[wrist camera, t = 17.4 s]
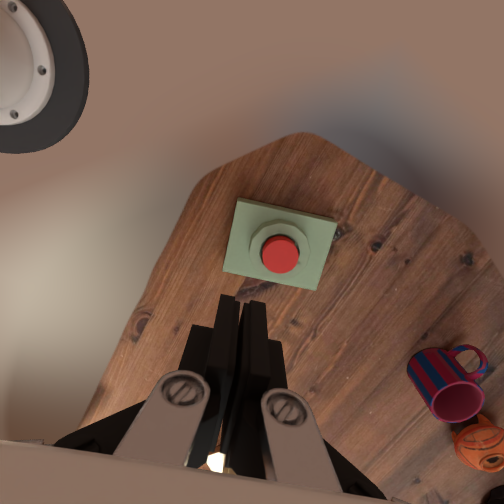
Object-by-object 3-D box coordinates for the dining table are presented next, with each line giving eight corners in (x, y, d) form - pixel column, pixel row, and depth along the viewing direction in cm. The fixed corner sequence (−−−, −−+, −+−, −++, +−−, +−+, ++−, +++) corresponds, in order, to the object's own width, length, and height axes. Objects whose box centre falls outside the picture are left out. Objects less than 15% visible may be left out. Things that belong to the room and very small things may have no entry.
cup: (397, 371, 48) (419, 407, 42) (447, 322, 45) (479, 353, 39) (429, 392, 49) (456, 431, 43) (481, 346, 47) (517, 380, 40)
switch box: (223, 264, 43) (220, 277, 39) (238, 196, 40) (236, 203, 36) (312, 283, 43) (318, 297, 40) (333, 218, 40) (341, 227, 37)
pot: (510, 424, 51) (537, 471, 45) (463, 441, 55) (482, 487, 49) (480, 399, 49) (503, 445, 43) (433, 418, 53) (449, 463, 47)
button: (258, 264, 39) (258, 269, 37) (266, 231, 37) (267, 236, 36) (291, 270, 39) (293, 277, 37) (300, 239, 38) (302, 244, 36)
